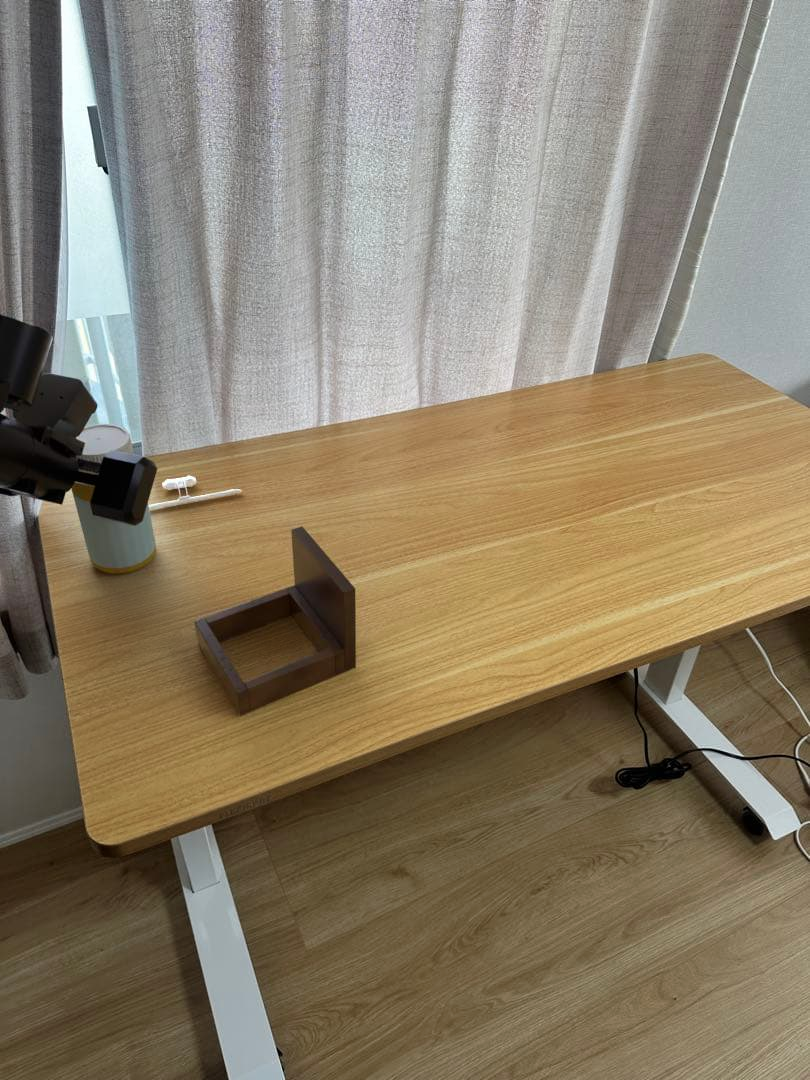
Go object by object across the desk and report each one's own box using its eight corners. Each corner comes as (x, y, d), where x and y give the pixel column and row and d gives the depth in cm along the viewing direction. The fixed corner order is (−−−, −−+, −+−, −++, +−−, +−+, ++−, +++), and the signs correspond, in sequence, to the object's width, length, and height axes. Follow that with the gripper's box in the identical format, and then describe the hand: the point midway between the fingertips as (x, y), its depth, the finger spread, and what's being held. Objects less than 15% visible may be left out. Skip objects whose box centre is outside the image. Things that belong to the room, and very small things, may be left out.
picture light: (125, 516, 95) (122, 501, 93) (121, 496, 98) (118, 482, 97) (243, 494, 99) (241, 480, 98) (235, 476, 102) (234, 462, 101)
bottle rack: (240, 716, 72) (228, 635, 66) (197, 643, 79) (183, 563, 73) (356, 667, 77) (355, 588, 71) (306, 602, 84) (302, 525, 78)
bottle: (144, 530, 93) (120, 415, 83) (166, 563, 88) (144, 445, 79) (82, 550, 89) (51, 432, 80) (103, 585, 85) (72, 464, 76)
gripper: (127, 380, 67) (207, 434, 82) (-59, 345, 71) (50, 403, 86) (89, 509, 66) (177, 540, 81) (-98, 466, 70) (19, 503, 85)
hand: (105, 492), depth 83 cm, fingers open, 9 cm apart
